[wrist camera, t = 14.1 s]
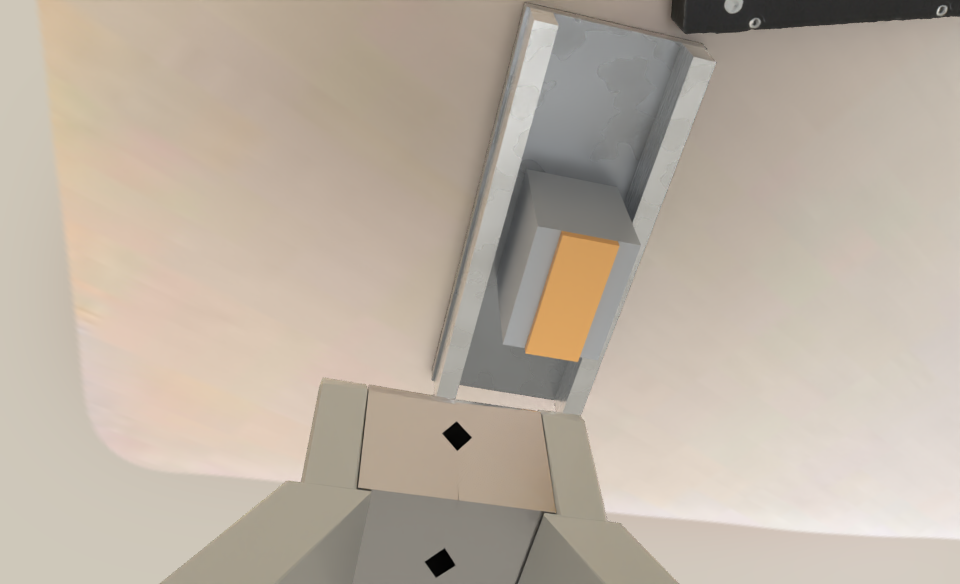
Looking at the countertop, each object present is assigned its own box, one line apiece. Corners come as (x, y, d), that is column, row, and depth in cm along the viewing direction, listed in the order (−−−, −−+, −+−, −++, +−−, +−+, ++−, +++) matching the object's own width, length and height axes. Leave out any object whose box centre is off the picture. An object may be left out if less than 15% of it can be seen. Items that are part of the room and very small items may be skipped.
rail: (702, 43, 36) (720, 62, 34) (572, 393, 47) (579, 427, 44) (525, 2, 35) (530, 19, 33) (431, 371, 45) (431, 404, 43)
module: (617, 187, 39) (643, 250, 34) (580, 293, 42) (599, 365, 37) (526, 169, 38) (538, 230, 33) (496, 278, 41) (503, 349, 36)
